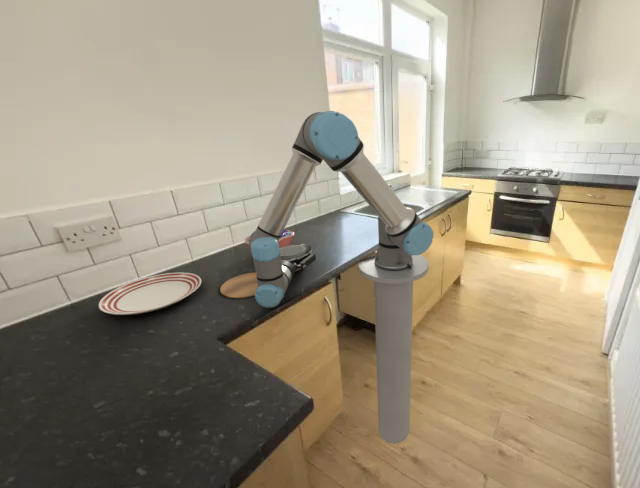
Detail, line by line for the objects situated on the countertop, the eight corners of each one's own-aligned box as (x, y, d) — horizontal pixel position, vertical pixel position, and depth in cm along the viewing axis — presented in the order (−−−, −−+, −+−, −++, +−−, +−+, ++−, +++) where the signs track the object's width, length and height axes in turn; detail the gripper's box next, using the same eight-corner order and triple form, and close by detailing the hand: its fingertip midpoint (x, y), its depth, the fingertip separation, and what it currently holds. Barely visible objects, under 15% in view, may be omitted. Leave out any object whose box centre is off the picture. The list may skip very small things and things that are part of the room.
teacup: (291, 277, 116) (289, 257, 112) (272, 270, 121) (269, 250, 118) (319, 263, 126) (317, 245, 123) (300, 257, 132) (298, 239, 129)
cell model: (242, 253, 137) (237, 228, 132) (287, 242, 148) (284, 219, 143) (254, 266, 124) (249, 239, 120) (302, 254, 135) (299, 229, 131)
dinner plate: (122, 286, 111) (119, 277, 110) (208, 273, 119) (206, 265, 118) (84, 331, 88) (79, 321, 86) (195, 312, 96) (192, 303, 94)
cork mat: (286, 279, 115) (286, 278, 114) (245, 303, 100) (245, 302, 100) (251, 269, 122) (250, 268, 122) (208, 290, 108) (208, 289, 108)
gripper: (246, 285, 106) (265, 259, 126) (317, 283, 107) (325, 257, 127) (242, 265, 103) (262, 241, 123) (315, 263, 104) (324, 239, 124)
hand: (294, 249), depth 125 cm, fingers open, 11 cm apart
